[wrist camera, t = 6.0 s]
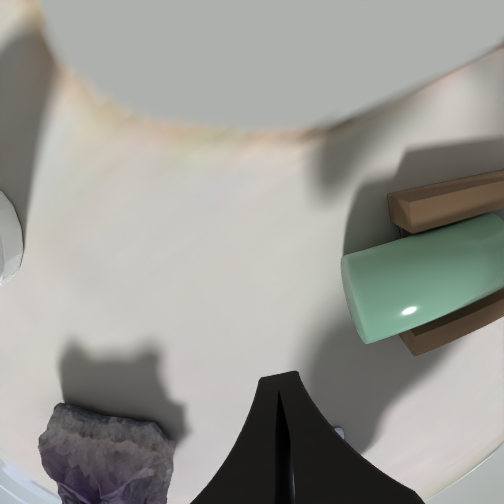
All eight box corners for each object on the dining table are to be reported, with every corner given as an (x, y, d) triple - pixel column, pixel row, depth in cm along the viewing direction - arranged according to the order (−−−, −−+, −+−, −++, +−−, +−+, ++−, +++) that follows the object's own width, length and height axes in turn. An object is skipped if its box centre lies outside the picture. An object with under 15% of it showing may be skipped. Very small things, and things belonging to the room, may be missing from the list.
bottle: (351, 325, 16) (504, 266, 15) (375, 359, 12) (547, 278, 11) (335, 250, 16) (496, 202, 15) (358, 263, 12) (541, 202, 11)
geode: (165, 507, 26) (141, 567, 17) (81, 467, 27) (48, 520, 17) (201, 432, 20) (161, 545, 10) (68, 367, 20) (-5, 448, 10)
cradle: (505, 289, 17) (525, 303, 15) (398, 334, 18) (414, 356, 15) (508, 168, 14) (533, 173, 12) (387, 194, 15) (409, 202, 13)
